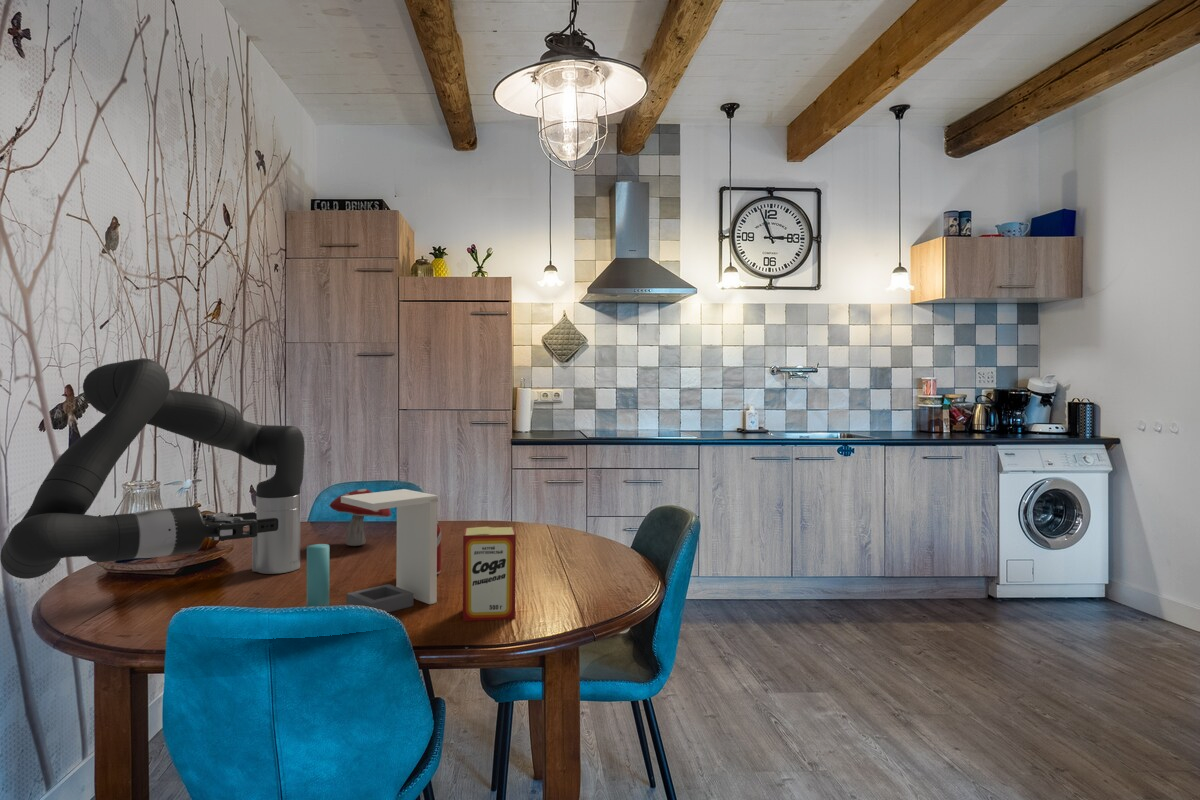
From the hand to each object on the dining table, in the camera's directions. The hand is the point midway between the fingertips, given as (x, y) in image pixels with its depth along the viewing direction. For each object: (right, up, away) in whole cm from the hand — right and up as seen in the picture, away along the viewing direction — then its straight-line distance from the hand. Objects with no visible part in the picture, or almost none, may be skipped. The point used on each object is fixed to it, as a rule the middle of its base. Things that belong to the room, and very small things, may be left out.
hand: (266, 520), depth 124 cm
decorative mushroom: (-4, -17, +61) cm, 64 cm away
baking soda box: (+39, -19, +6) cm, 44 cm away
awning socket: (+19, -18, +12) cm, 29 cm away
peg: (+6, -18, +8) cm, 21 cm away
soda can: (+20, -18, +33) cm, 43 cm away
